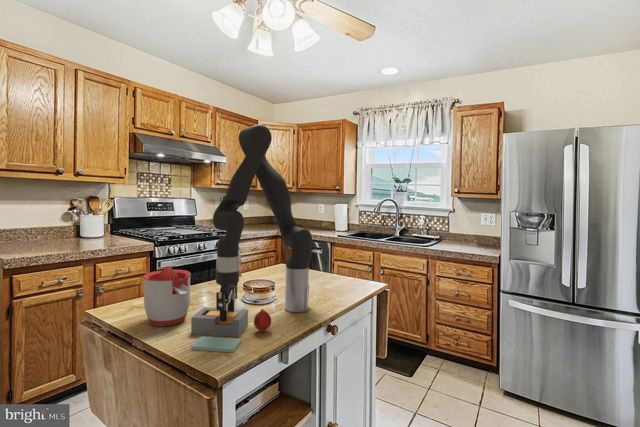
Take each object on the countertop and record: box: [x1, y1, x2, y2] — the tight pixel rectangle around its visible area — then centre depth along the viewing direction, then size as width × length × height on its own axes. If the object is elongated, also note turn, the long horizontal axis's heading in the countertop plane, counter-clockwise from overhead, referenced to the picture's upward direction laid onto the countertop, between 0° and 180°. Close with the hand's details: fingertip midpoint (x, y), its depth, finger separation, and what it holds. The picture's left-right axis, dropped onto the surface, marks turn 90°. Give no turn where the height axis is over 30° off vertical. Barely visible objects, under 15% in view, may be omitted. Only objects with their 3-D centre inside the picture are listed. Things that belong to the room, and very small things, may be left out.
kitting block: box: [190, 306, 249, 338], centre depth 116 cm, size 16×10×6 cm, turn 85°
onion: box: [253, 308, 272, 333], centre depth 114 cm, size 6×6×8 cm
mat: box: [190, 335, 242, 353], centre depth 104 cm, size 13×7×1 cm, turn 85°
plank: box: [206, 311, 238, 324], centre depth 115 cm, size 10×4×2 cm, turn 85°
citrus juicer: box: [142, 265, 192, 328], centre depth 121 cm, size 16×17×20 cm
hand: (227, 316), depth 115 cm, fingers open, 7 cm apart
